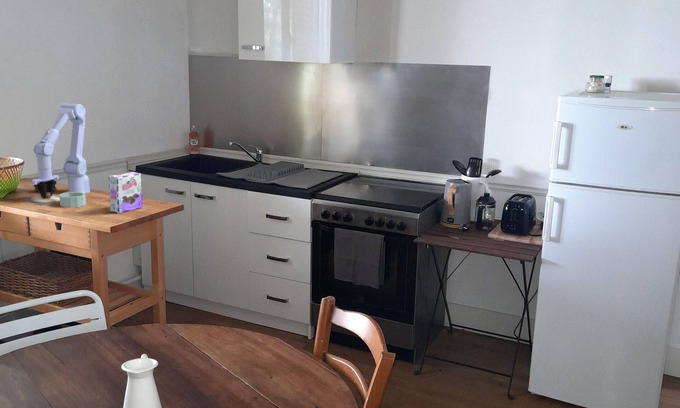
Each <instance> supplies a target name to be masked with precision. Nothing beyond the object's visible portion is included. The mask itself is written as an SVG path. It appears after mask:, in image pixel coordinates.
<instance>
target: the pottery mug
mask: <svg viewBox="0 0 680 408" xmlns="http://www.w3.org/2000/svg"><path fill="white" fill-rule="evenodd" d="M33 187H34V191H35V192H38V191H39V190H38V188H37V187H36V185H34V184H33ZM56 192H58V189H57V186H56V185H55V187H54V189H53V193H56Z"/></svg>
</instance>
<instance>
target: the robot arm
mask: <svg viewBox="0 0 680 408" xmlns="http://www.w3.org/2000/svg"><path fill="white" fill-rule="evenodd" d="M86 111H87V110H86V108H85V106H83V104H80V103H78V104H77V103H68V102H63V103H62V104H61V105H60V108H59V109H58V112H59V113H58V116H57V117H56V119H55V121H54V123H53V125H52V127H51V128H48V129H46V130H45V133H44V134H43V137H42V138H41V140H40V141H39V142H37V143H35V145H34V147H33V149H32V150H33V153H34V154H35V157H36V162H37V171H38V173H37V174H38V176H37V178H35V179H32V180H31V185H33V186H34V185H36V187H37V188H38V191H39V194H40V195H41V197H42V198H46V192H50V196H52V194H53V193H54V190H53V189H54V187H55V186H56V184H57V180H59V178H60V176H59V174H53V171H52V157H51V156H52V154H53V153H54V148H55V145H56V142H57V141H58V139H59V138H60V133H59V132H60V131H61V130H62V128H63V127H64V126H65V124H66V123H67V122H68V121H70V122H71V123H72V130H71V131H72V132H71V141H70V150H69V155H68V156H67V157H66V158H65V161H64V164H63V172H64V174H66V176H67V184H68V185H67V186H68V187H67V190H68V191H64V193H67V192H82V193H85V194H88V193H90V194H91V191H90V190H91V189H90V187H91V185H90V179H89V176H88V175H87V171H88V169H87V168H88V167H87V160H86V159H85V158H84V157H83V151H84V150H83V149H84V148H83V147H84V140H85V139H84V138H85V129H86V128H85V127H86V113H87V112H86Z"/></svg>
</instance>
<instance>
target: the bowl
mask: <svg viewBox="0 0 680 408" xmlns="http://www.w3.org/2000/svg"><path fill="white" fill-rule="evenodd" d="M66 192H67V193H65V192H62V193H60V194H58V195H59V199H60V202H59V206H61V207H63V208H75V209H77V208H83V207H85V206H86V205H87V197H86V196H87V195H86V194H87V193H82V192H68V191H66Z"/></svg>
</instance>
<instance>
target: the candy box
mask: <svg viewBox="0 0 680 408" xmlns="http://www.w3.org/2000/svg"><path fill="white" fill-rule="evenodd" d="M142 184H143V183H142V173H139V172H136V171H135V172H134V171H132V172H127V173H126V172H125V173H120V174H114V175H108V187H109V188H108V190H109V191H108V194H109V195H108V196H109V211H110V212H112V213H115V214H121V213H125V212H126V213H127V212H131V211H135V210H139V209H140V210H141V209H143V189H142V188H143V187H142V186H143V185H142Z"/></svg>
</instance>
